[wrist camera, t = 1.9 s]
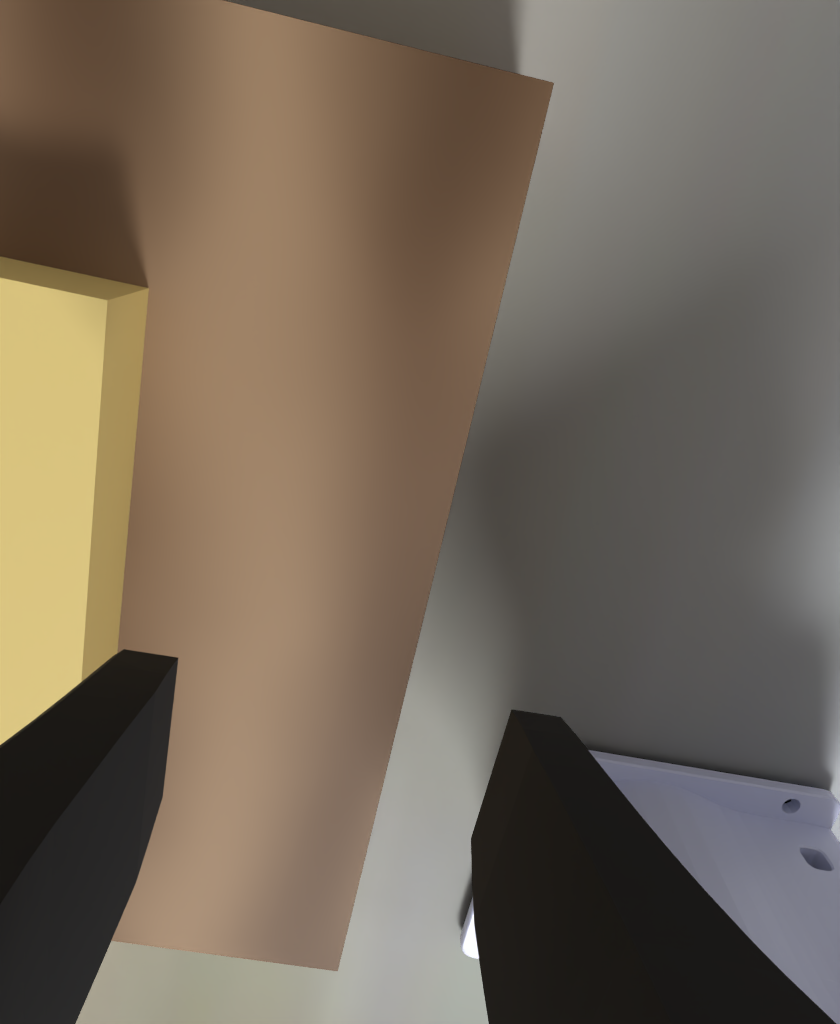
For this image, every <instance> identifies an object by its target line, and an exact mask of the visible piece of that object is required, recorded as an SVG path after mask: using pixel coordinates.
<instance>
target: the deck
mask: <svg viewBox="0 0 840 1024" xmlns="http://www.w3.org/2000/svg"><path fill="white" fill-rule="evenodd" d="M553 85H554V83H552V82H548V81H544V80H540V79H536V78H532V77H528V76H524V75H520V74H516V73H512V72H508V71H504V70H500V69H496V68H492V67H488V66H484V65H480V64H476V63H472V62H468V61H464V60H460V59H456V58H452V57H448V56H444V55H440V54H436V53H432V52H428V51H424V50H420V49H416V48H412V47H408V46H404V45H400V44H396V43H392V42H388V41H384V40H380V39H376V38H372V37H368V36H364V35H360V34H356V33H352V32H348V31H344V30H340V29H336V28H332V27H328V26H324V25H320V24H316V23H312V22H308V21H304V20H300V19H296V18H292V17H288V16H284V15H280V14H276V13H272V12H268V11H264V10H260V9H256V8H252V7H248V6H244V5H240V4H236V3H232V2H228V1H224V0H0V257H5V258H10V259H14V260H19V261H24V262H28V263H33V264H38V265H43V266H47V267H52V268H57V269H61V270H66V271H71V272H75V273H80V274H85V275H89V276H94V277H99V278H103V279H108V280H113V281H118V282H122V283H127V284H132V285H136V286H141V287H146V288H149V292H148V304H147V315H146V327H145V338H144V350H143V362H142V373H141V385H140V396H139V408H138V419H137V431H136V442H135V454H134V466H133V477H132V489H131V500H130V512H129V523H128V535H127V546H126V558H125V569H124V581H123V593H122V604H121V616H120V627H119V639H118V650H117V653H119V652H120V651H122V650H123V649H126V650H133V651H139V652H146V653H152V654H158V655H165V656H171V657H178V666H177V675H176V684H175V693H174V702H173V711H172V719H171V728H170V737H169V746H168V755H167V764H166V773H165V781H164V790H163V798H162V801H161V804H160V808H159V811H158V814H157V817H156V821H155V824H154V827H153V830H152V834H151V837H150V840H149V843H148V847H147V850H146V853H145V856H144V859H143V862H142V865H141V869H140V872H139V875H138V878H137V881H136V884H135V886H134V889H133V891H132V893H131V896H130V898H129V900H128V903H127V905H126V907H125V910H124V912H123V914H122V917H121V919H120V921H119V924H118V926H117V928H116V931H115V933H114V935H113V938H112V940H111V941H117V942H125V943H132V944H140V945H147V946H154V947H162V948H169V949H177V950H184V951H192V952H199V953H206V954H214V955H221V956H229V957H236V958H243V959H251V960H258V961H266V962H273V963H280V964H288V965H295V966H303V967H310V968H317V969H325V970H332V971H338V967H339V963H340V959H341V955H342V951H343V947H344V943H345V939H346V934H347V930H348V926H349V922H350V918H351V914H352V910H353V906H354V902H355V897H356V893H357V889H358V885H359V881H360V877H361V873H362V869H363V865H364V861H365V856H366V852H367V848H368V844H369V840H370V836H371V832H372V828H373V824H374V819H375V815H376V811H377V807H378V803H379V799H380V795H381V791H382V787H383V783H384V778H385V774H386V770H387V766H388V762H389V758H390V754H391V750H392V746H393V741H394V737H395V733H396V729H397V725H398V721H399V717H400V713H401V709H402V705H403V700H404V696H405V692H406V688H407V684H408V680H409V676H410V672H411V668H412V663H413V659H414V655H415V651H416V647H417V643H418V639H419V635H420V631H421V627H422V622H423V618H424V614H425V610H426V606H427V602H428V598H429V594H430V590H431V585H432V581H433V577H434V573H435V569H436V565H437V561H438V557H439V553H440V548H441V544H442V540H443V536H444V532H445V528H446V524H447V520H448V516H449V512H450V507H451V503H452V499H453V495H454V491H455V487H456V483H457V479H458V475H459V470H460V466H461V462H462V458H463V454H464V450H465V446H466V442H467V438H468V434H469V429H470V425H471V421H472V417H473V413H474V409H475V405H476V401H477V397H478V392H479V388H480V384H481V380H482V376H483V372H484V368H485V364H486V360H487V356H488V351H489V347H490V343H491V339H492V335H493V331H494V327H495V323H496V319H497V314H498V310H499V306H500V302H501V298H502V294H503V290H504V286H505V282H506V278H507V273H508V269H509V265H510V261H511V257H512V253H513V249H514V245H515V241H516V236H517V232H518V228H519V224H520V220H521V216H522V212H523V208H524V204H525V199H526V195H527V191H528V187H529V183H530V179H531V175H532V171H533V167H534V163H535V158H536V154H537V150H538V146H539V142H540V138H541V134H542V130H543V126H544V121H545V117H546V113H547V109H548V105H549V101H550V97H551V93H552V89H553Z"/></svg>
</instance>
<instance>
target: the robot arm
mask: <svg viewBox="0 0 840 1024" xmlns="http://www.w3.org/2000/svg"><path fill="white" fill-rule="evenodd" d="M177 666H178V657H171V656H165V655H158V654H152V653H146V652H139V651H133V650H126V649H123V650H122V651H120V652H119V653H117V654H115V655H114V656H112V657H111V658H110V659H109V660H107V661H106V662H105V663H104V664H103V665H101V666H100V667H99V668H98V669H96V670H95V671H94V672H93V673H92V674H90V675H89V676H88V677H87V678H86V679H84V680H83V681H82V682H81V683H79V684H78V685H77V686H76V687H75V688H73V689H72V690H71V691H70V692H68V693H67V694H66V695H65V696H63V697H62V698H61V699H60V700H58V701H57V702H56V703H55V704H53V705H52V706H51V707H50V708H48V709H47V710H46V711H44V712H43V713H42V714H41V715H39V716H38V717H37V718H36V719H34V720H33V721H32V722H30V723H29V724H28V725H26V726H25V727H24V728H22V729H21V730H20V731H18V732H17V733H16V734H14V735H13V736H12V737H10V738H9V739H8V740H6V741H5V742H4V743H2V744H1V745H0V1024H75V1023H76V1021H77V1018H78V1016H79V1014H80V1011H81V1009H82V1007H83V1005H84V1002H85V1000H86V998H87V995H88V993H89V991H90V988H91V986H92V984H93V982H94V979H95V977H96V975H97V972H98V970H99V968H100V965H101V963H102V961H103V959H104V956H105V954H106V952H107V949H108V947H109V945H110V942H111V940H112V938H113V935H114V933H115V931H116V928H117V926H118V924H119V921H120V919H121V917H122V914H123V912H124V910H125V907H126V905H127V903H128V900H129V898H130V896H131V893H132V891H133V889H134V886H135V884H136V881H137V878H138V875H139V872H140V869H141V865H142V862H143V859H144V856H145V853H146V850H147V847H148V843H149V840H150V837H151V834H152V830H153V827H154V824H155V821H156V817H157V814H158V811H159V808H160V804H161V801H162V798H163V790H164V781H165V773H166V764H167V755H168V746H169V737H170V728H171V719H172V711H173V702H174V693H175V684H176V675H177ZM789 799H792V800H791V801H790V802H788V803H786V804H784V802H785V801H787V800H789ZM839 812H840V803H839V801H838V800H837V799H836V797H835V796H834V795H833V794H832V793H831V792H830V791H828V790H825V789H819V788H813V787H807V786H801V785H795V784H789V783H783V782H777V781H771V780H765V779H759V778H753V777H747V776H741V775H735V774H730V773H724V772H718V771H712V770H706V769H700V768H694V767H688V766H682V765H676V764H670V763H664V762H658V761H652V760H646V759H640V758H634V757H628V756H622V755H616V754H610V753H604V752H598V751H592V750H588V749H587V748H586V747H585V746H584V744H583V743H582V742H581V741H580V739H579V738H578V737H577V736H576V734H575V733H574V732H573V731H572V730H571V728H570V727H569V726H568V725H567V724H566V723H565V722H564V720H563V719H562V718H561V717H556V716H550V715H543V714H537V713H531V712H524V711H518V710H511V713H510V716H509V720H508V723H507V726H506V729H505V732H504V735H503V739H502V742H501V745H500V748H499V751H498V755H497V758H496V761H495V764H494V767H493V770H492V774H491V777H490V780H489V783H488V786H487V790H486V793H485V796H484V799H483V802H482V805H481V809H480V812H479V815H478V818H477V821H476V825H475V828H474V831H473V834H472V837H471V854H472V889H473V897H472V901H471V904H470V907H469V910H468V913H467V916H466V920H465V923H464V926H463V929H462V932H461V937H460V941H461V949H462V951H463V953H464V954H466V955H467V956H469V957H473V958H478V959H479V961H480V968H481V975H482V981H483V988H484V995H485V1001H486V1008H487V1014H488V1021H489V1024H840V842H839V841H838V839H837V838H836V837H835V835H834V834H833V832H832V831H831V828H832V826H833V824H834V822H835V821H836V819H837V817H838V815H839Z"/></svg>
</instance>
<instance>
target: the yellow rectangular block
mask: <svg viewBox="0 0 840 1024" xmlns="http://www.w3.org/2000/svg"><path fill="white" fill-rule="evenodd" d="M148 292H149V288H146V287H141V286H136V285H132V284H127V283H122V282H118V281H113V280H108V279H103V278H99V277H94V276H89V275H85V274H80V273H75V272H71V271H66V270H61V269H57V268H52V267H47V266H43V265H38V264H33V263H28V262H24V261H19V260H14V259H10V258H5V257H0V745H1V744H2V743H4V742H5V741H6V740H8V739H9V738H10V737H12V736H13V735H14V734H16V733H17V732H18V731H20V730H21V729H22V728H24V727H25V726H26V725H28V724H29V723H30V722H32V721H33V720H34V719H36V718H37V717H38V716H39V715H41V714H42V713H43V712H44V711H46V710H47V709H48V708H50V707H51V706H52V705H53V704H55V703H56V702H57V701H58V700H60V699H61V698H62V697H63V696H65V695H66V694H67V693H68V692H70V691H71V690H72V689H73V688H75V687H76V686H77V685H78V684H79V683H81V682H82V681H83V680H84V679H86V678H87V677H88V676H89V675H90V674H92V673H93V672H94V671H95V670H96V669H98V668H99V667H100V666H101V665H103V664H104V663H105V662H106V661H107V660H109V659H110V658H111V657H112V656H114V655H115V654H117V650H118V639H119V627H120V616H121V604H122V593H123V581H124V569H125V558H126V546H127V535H128V523H129V512H130V500H131V489H132V477H133V466H134V454H135V442H136V431H137V419H138V408H139V396H140V385H141V373H142V362H143V350H144V338H145V327H146V315H147V304H148Z"/></svg>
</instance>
